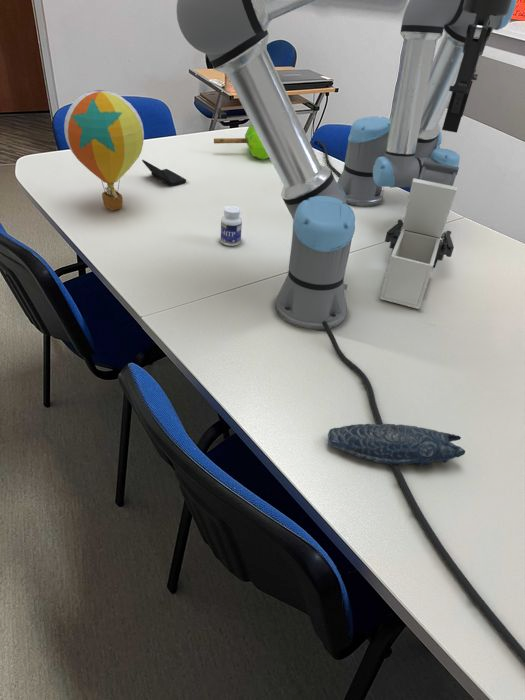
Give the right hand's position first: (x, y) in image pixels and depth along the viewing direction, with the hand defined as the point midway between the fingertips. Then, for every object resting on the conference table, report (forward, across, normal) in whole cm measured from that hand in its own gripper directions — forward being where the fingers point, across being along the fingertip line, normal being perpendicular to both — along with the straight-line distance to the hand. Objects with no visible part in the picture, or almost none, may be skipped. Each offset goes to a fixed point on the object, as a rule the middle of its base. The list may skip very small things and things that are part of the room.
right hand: (413, 257), depth 122 cm
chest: (+4, 0, -6) cm, 7 cm away
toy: (+1, +82, -6) cm, 83 cm away
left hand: (+4, 0, +31) cm, 31 cm away
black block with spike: (-25, +81, -6) cm, 85 cm away
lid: (0, 0, +12) cm, 12 cm away
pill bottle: (+3, +46, -6) cm, 46 cm away
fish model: (+56, -6, -6) cm, 56 cm away
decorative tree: (-64, +66, -7) cm, 92 cm away
